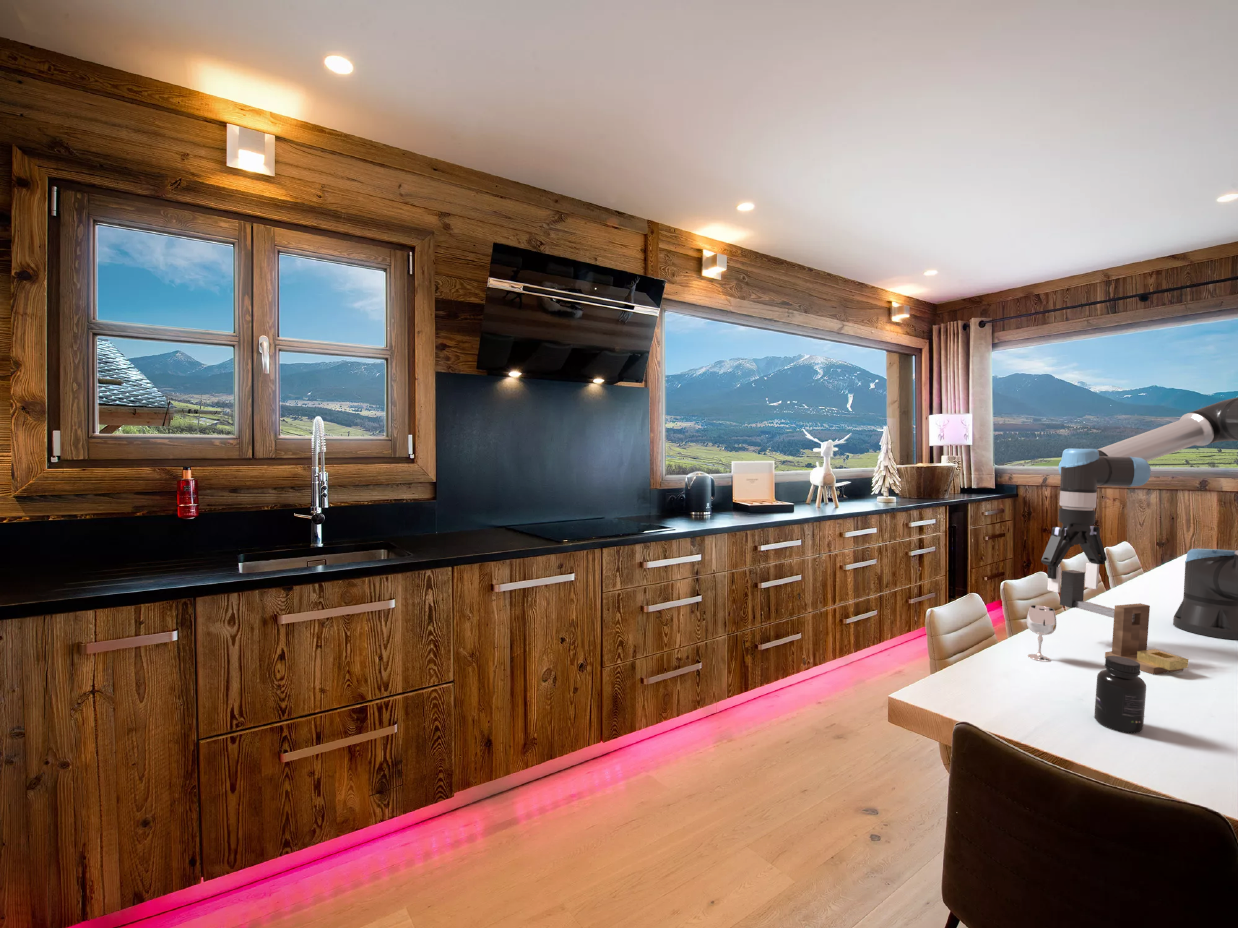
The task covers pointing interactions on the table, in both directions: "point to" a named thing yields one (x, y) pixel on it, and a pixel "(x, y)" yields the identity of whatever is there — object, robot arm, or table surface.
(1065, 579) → the grey hammer
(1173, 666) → the block
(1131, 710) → the supplement bottle
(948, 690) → the table surface
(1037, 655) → the wineglass
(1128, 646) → the bearing frame
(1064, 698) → the table surface
